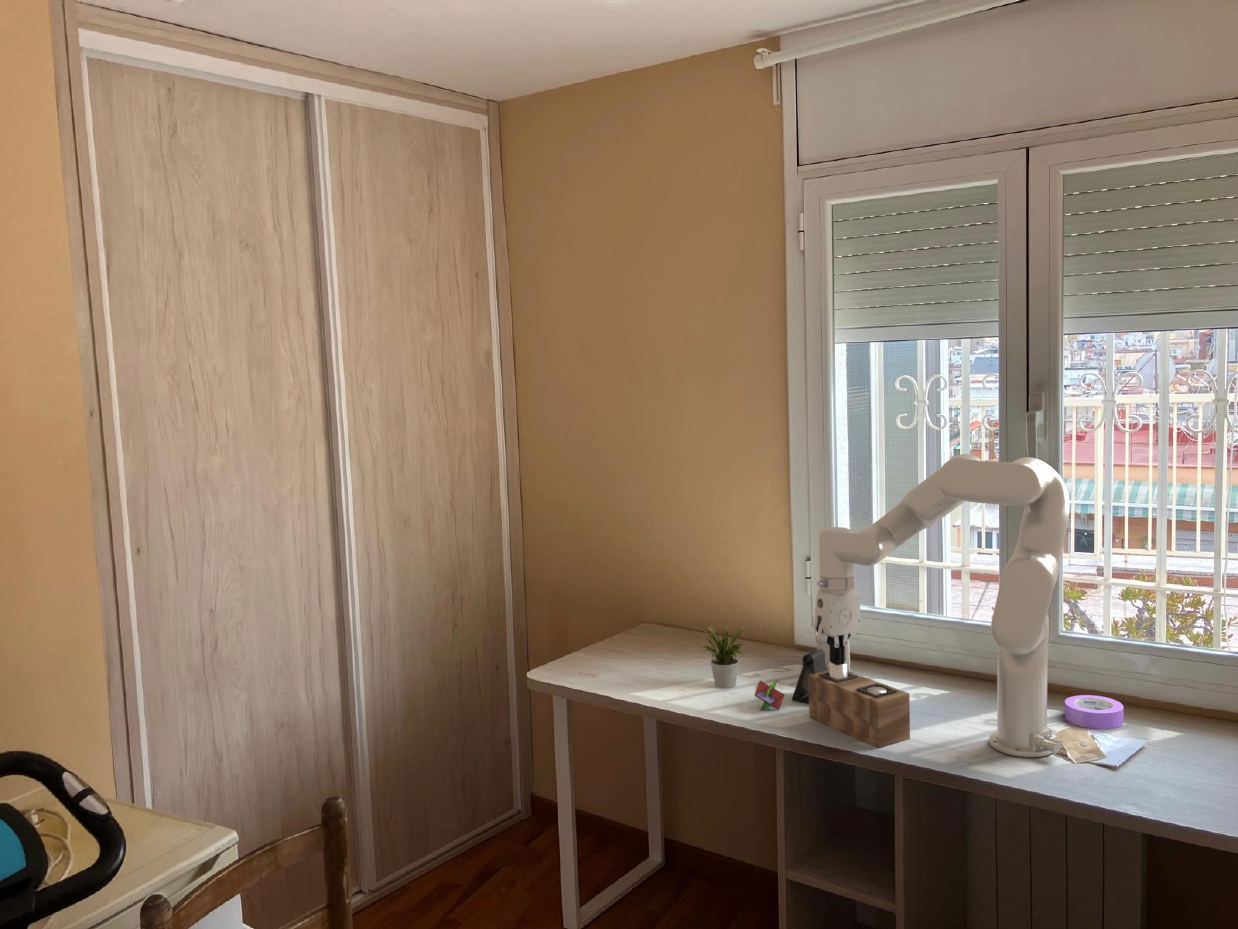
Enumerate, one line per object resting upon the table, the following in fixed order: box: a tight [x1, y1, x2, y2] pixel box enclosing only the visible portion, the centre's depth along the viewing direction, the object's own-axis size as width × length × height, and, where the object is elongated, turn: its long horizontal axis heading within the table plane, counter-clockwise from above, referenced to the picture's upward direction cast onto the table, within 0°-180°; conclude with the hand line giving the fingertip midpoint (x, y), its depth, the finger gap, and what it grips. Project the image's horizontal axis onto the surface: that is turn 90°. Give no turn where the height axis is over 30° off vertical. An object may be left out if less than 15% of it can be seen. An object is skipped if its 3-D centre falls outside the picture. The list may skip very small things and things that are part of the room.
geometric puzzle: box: [754, 680, 785, 711], centre depth 232 cm, size 7×7×8 cm
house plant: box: [694, 621, 747, 689], centre depth 249 cm, size 14×14×16 cm
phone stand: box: [791, 647, 828, 705], centre depth 236 cm, size 9×6×12 cm, turn 52°
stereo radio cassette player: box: [812, 591, 851, 672], centre depth 254 cm, size 21×8×20 cm, turn 171°
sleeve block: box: [808, 670, 911, 749], centre depth 218 cm, size 22×9×10 cm, turn 30°
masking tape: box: [1064, 694, 1124, 730], centre depth 218 cm, size 12×12×4 cm
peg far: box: [829, 662, 848, 680], centre depth 223 cm, size 4×4×9 cm
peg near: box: [867, 687, 887, 695], centre depth 213 cm, size 4×4×9 cm
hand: (837, 662), depth 222 cm, fingers closed
